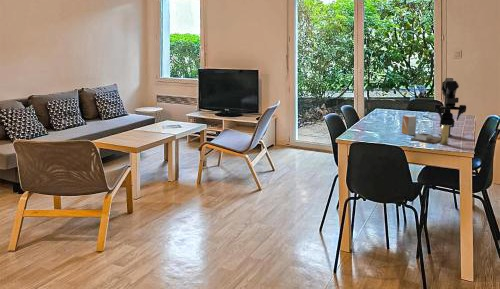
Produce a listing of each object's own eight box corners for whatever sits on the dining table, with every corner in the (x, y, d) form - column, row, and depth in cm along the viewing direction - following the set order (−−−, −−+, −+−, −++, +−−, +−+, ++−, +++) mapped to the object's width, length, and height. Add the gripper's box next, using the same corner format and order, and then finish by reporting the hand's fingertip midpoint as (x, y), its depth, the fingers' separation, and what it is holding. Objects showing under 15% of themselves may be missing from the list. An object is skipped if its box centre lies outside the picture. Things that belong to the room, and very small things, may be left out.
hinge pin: (442, 143, 290) (443, 124, 287) (448, 144, 286) (450, 125, 284) (438, 144, 287) (440, 125, 285) (445, 145, 284) (446, 126, 281)
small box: (401, 133, 324) (402, 115, 321) (409, 132, 325) (410, 114, 322) (407, 135, 316) (408, 116, 313) (415, 134, 317) (416, 116, 315)
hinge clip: (421, 137, 303) (422, 132, 302) (432, 139, 297) (432, 134, 296) (415, 138, 298) (415, 134, 297) (426, 140, 292) (426, 136, 291)
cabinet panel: (424, 136, 310) (424, 135, 310) (446, 140, 298) (446, 138, 298) (410, 139, 301) (411, 138, 300) (433, 143, 288) (433, 141, 288)
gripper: (435, 92, 289) (434, 114, 284) (467, 93, 282) (466, 115, 277) (434, 100, 299) (433, 121, 294) (465, 101, 292) (464, 123, 287)
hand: (449, 120), depth 288 cm, fingers open, 9 cm apart
